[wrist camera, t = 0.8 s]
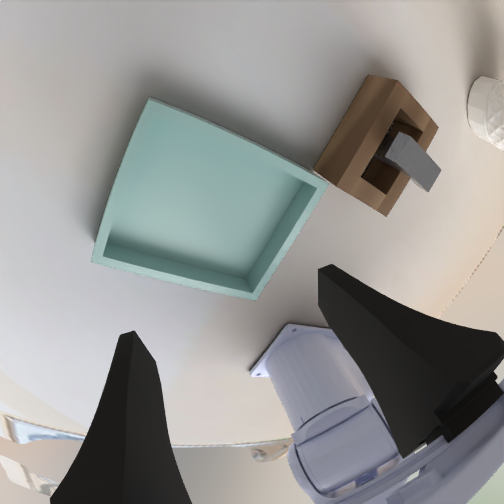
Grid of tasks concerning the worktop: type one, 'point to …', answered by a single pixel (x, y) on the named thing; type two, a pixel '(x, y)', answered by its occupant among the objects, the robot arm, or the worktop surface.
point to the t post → (408, 159)
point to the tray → (202, 205)
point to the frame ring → (374, 142)
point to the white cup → (487, 110)
